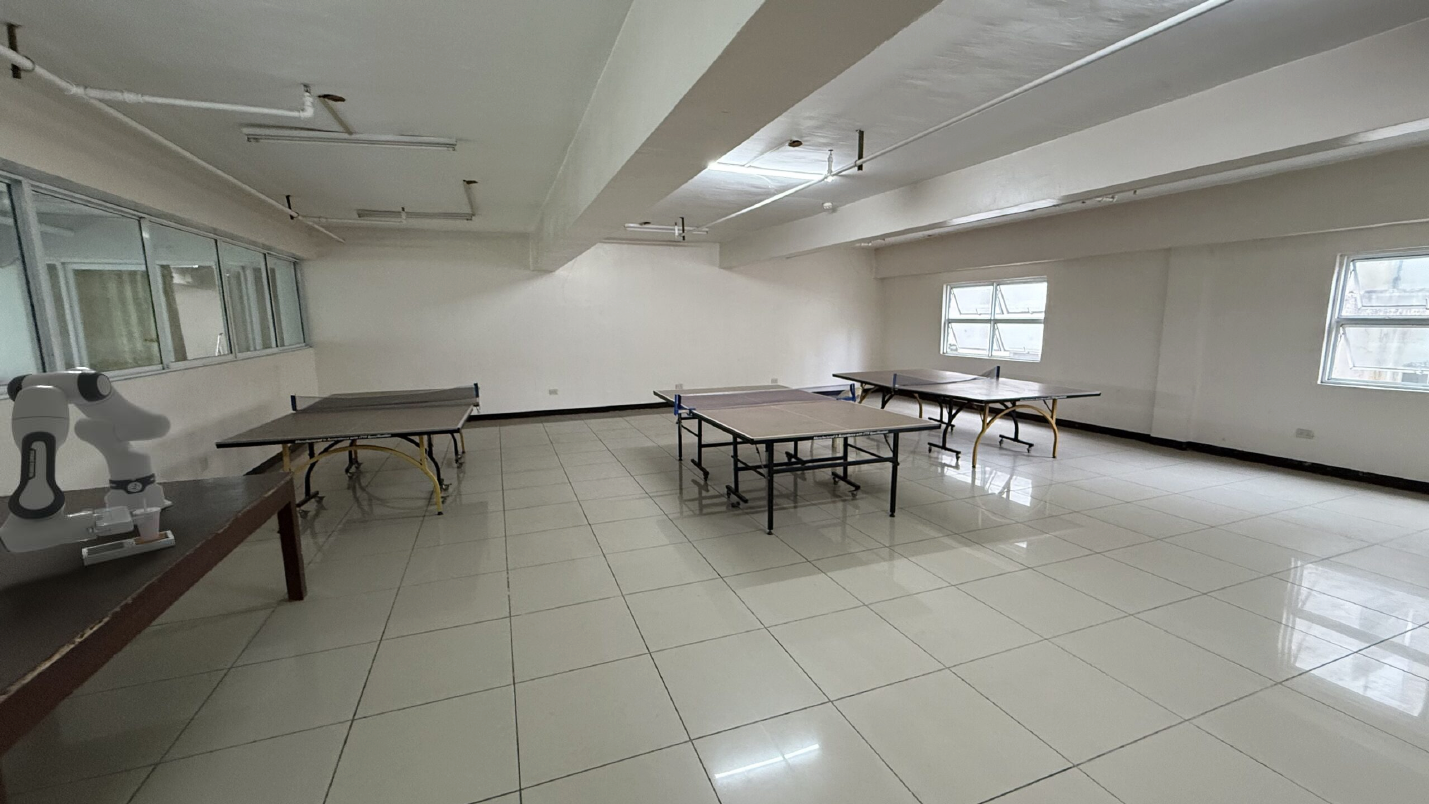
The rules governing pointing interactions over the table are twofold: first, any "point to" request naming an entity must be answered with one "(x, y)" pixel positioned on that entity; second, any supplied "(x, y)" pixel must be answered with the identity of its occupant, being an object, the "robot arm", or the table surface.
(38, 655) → the table surface
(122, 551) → the cup holder
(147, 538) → the smoothie
